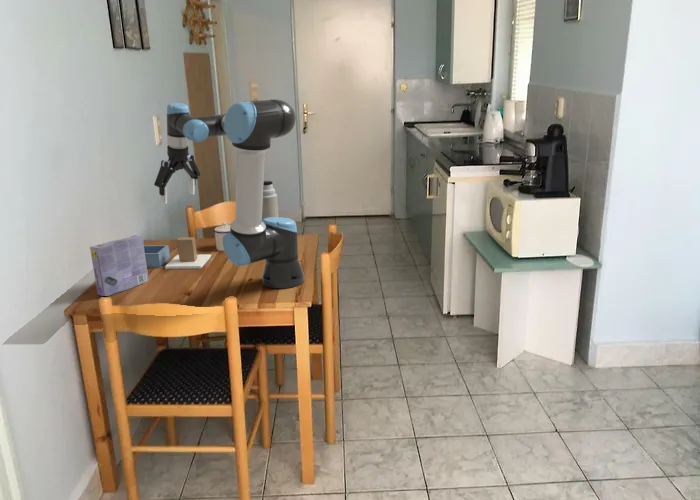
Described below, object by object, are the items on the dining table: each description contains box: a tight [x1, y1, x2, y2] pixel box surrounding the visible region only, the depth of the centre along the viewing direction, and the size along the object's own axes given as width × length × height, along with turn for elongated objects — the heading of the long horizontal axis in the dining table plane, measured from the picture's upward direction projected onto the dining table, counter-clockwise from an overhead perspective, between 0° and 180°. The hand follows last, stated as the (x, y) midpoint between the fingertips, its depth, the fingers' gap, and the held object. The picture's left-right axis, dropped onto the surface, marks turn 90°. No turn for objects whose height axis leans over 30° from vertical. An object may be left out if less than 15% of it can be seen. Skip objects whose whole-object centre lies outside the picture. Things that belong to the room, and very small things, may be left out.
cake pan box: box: [89, 234, 149, 297], centre depth 201 cm, size 19×5×18 cm, turn 145°
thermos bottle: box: [262, 180, 279, 222], centre depth 242 cm, size 8×8×28 cm
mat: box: [163, 255, 214, 271], centre depth 227 cm, size 16×15×1 cm
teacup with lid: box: [213, 221, 230, 252], centre depth 243 cm, size 12×9×12 cm
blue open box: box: [144, 244, 171, 269], centre depth 227 cm, size 11×11×6 cm
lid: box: [164, 236, 212, 269], centre depth 225 cm, size 14×14×10 cm
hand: (178, 198), depth 222 cm, fingers open, 13 cm apart
